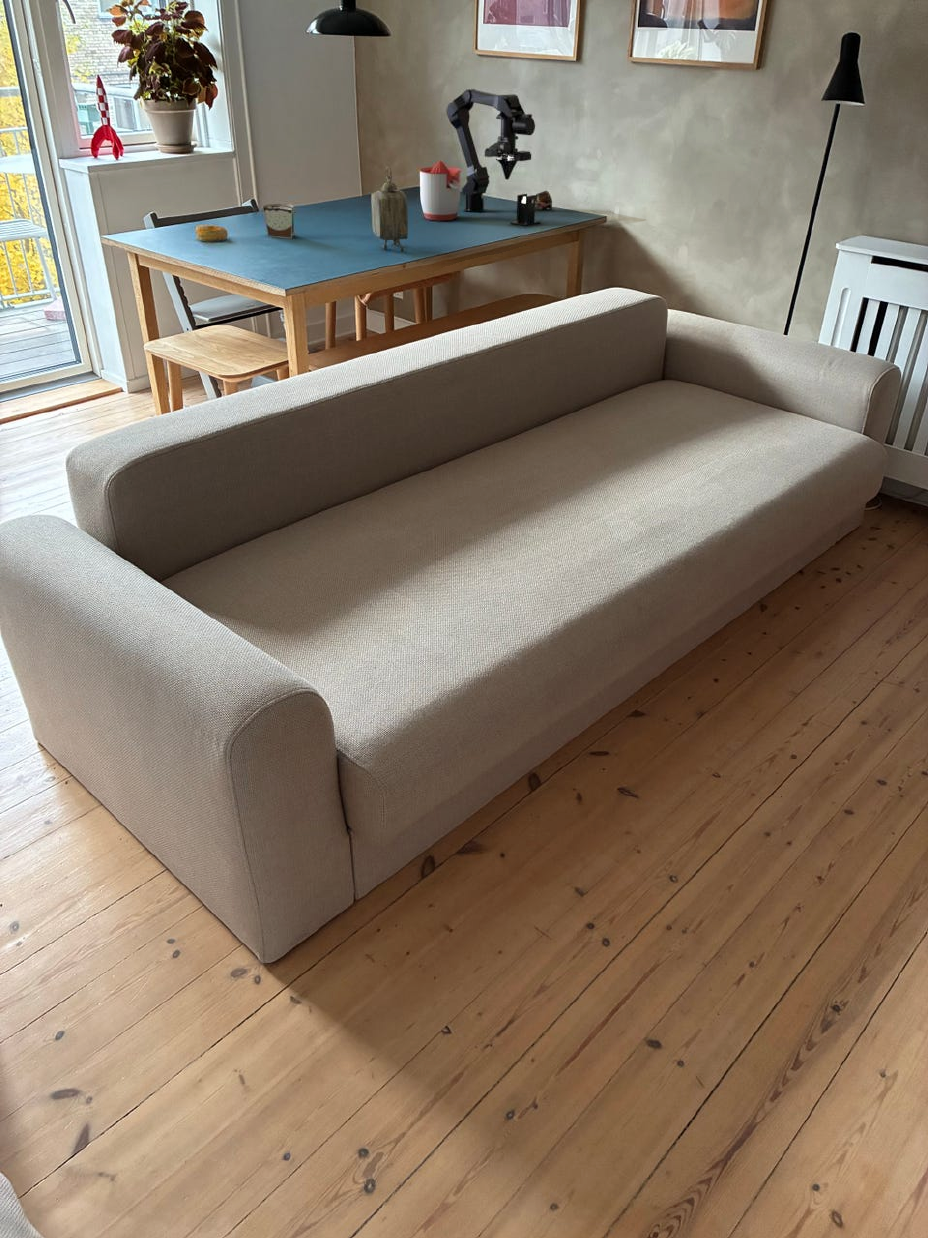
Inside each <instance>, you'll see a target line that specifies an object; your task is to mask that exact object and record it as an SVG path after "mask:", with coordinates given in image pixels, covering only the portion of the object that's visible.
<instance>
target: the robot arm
mask: <svg viewBox="0 0 928 1238" xmlns="http://www.w3.org/2000/svg"><path fill="white" fill-rule="evenodd" d="M474 104H478V105H479V104H480V105H484V106H488V107H492V108H494V109H495V110H496V111H498V112H499V114H497V115H496V117H495V119H496V120H500V135H499V136H497V141H496V142H494V143H492V144H491V145H490V146H489V147H486V148H485V150H484V157H485V158H495V160H496V162H498V163H499V164H500V166H501V169H502V172H503V176H504V179H505V180H507V181H508V180H509V179H510V178H511V175H512V174H513V170H514V168H515V166H516V165H517V163H518V162H526V161H531V160H532V153H531V151H530V150H518V148H517V146H516V145H517V144H516V143H517V140H519V136H518V135H521V136H533V134H534V132H535V129H536V123H535V120H534V119H533V114H532V113H527V114H526V113H525V111H524V108H523V107H522V104H521V102H520V98H519V96H518V95H517V94H515V93H513V94H511V93H510V94H495V93H492V92H491V93H490V92H488V91H483V90H477V89H476V88H470V89H464V90H463V92H462V93H461V94H460V95H459V96H458V97H456V98H455V99H453V100H452V101H451V102H449V103H448V105H447V107H446V110H445V113H446V116H447V118H448V120H449V123H450V124H451V125H452V126H453V128H454V129H455V130H456V131H455V132H456V134H457V138H458V141H459V144H460V147H461V150H462V154H463V158H464V161H465V165H466V168H467V170H466V176H465V178H466V183H465V184H464V185H463V186H462V187H461V192H462V195H465V209H464V212H466V213H467V212H469V213H482V212H483V210H484V209H485V198H484V194H486V193H487V190H488V187H489V184H490V175H489V172H488V168H487V166H483V165H482V164H481V163H480V161H479V156H478V153H477V150H476V147H475V146H476V145H475V143H474V140H473V136H472V132H471V129H470V126H469V123H470V118H471V116H470V111H471V109H473V107H474Z"/></svg>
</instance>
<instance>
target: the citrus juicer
mask: <svg viewBox="0 0 928 1238" xmlns="http://www.w3.org/2000/svg"><path fill="white" fill-rule="evenodd" d="M418 171H419V192H420V203H421V208H422V213H423V215H424V218H425V219H427V220H432V221H436V222H442V221H450V220H455V219H456V218H457V215H458V212H459V207H460V204H461V203H460V202H461V172H462V169H460V168H457V167H449V166H446V165H445V164H444V162H443V161H442V160H438V162H436V163H435V165H434V166H430V167H429V166H428V167H422V168H420V169H419V170H418Z"/></svg>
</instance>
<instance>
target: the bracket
mask: <svg viewBox="0 0 928 1238" xmlns="http://www.w3.org/2000/svg"><path fill="white" fill-rule="evenodd" d="M522 196H526V204H523V203H521V201H522ZM535 197H536V194H531V195H528V193H522V194H517V197H516V198H517V200H516V220H514V221H510V224H509V225H512V226H518V227H523V228H527V227H530V226H531V227H532V226H535V225H536V226H537V225H540V224H541V220H535V219H536V218H535V217H536V216H535V215H536V209H535V207H536V205H535Z"/></svg>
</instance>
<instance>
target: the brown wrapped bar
mask: <svg viewBox="0 0 928 1238" xmlns="http://www.w3.org/2000/svg"><path fill="white" fill-rule="evenodd" d="M521 203H523V204H526V196H522V201H521ZM545 205H546V204H545V203H542V202H536V201H535V207H537V206H542V207H545Z"/></svg>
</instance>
